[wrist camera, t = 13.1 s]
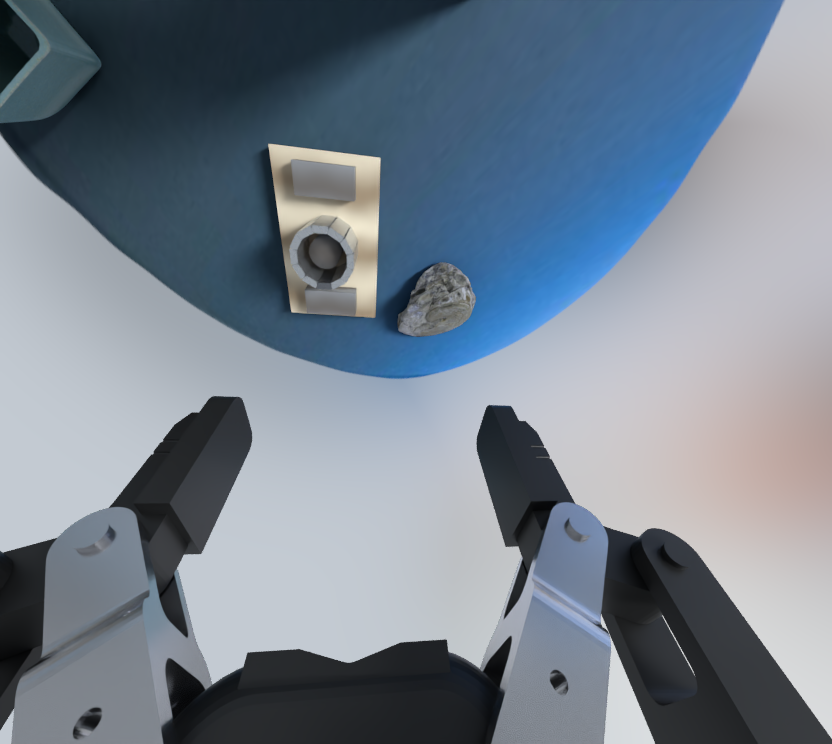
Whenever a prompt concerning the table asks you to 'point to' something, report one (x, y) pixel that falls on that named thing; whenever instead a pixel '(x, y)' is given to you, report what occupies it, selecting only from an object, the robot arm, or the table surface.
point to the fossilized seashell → (438, 302)
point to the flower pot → (39, 61)
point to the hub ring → (304, 262)
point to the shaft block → (334, 196)
